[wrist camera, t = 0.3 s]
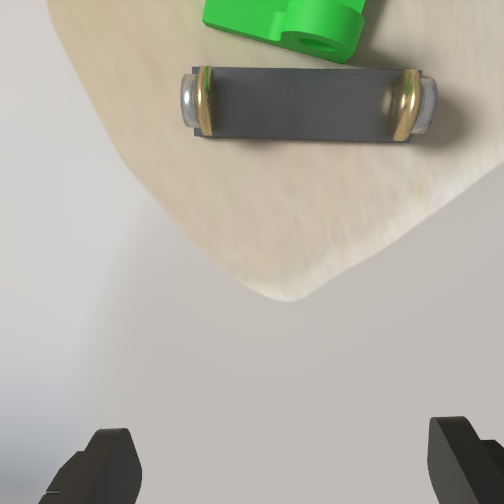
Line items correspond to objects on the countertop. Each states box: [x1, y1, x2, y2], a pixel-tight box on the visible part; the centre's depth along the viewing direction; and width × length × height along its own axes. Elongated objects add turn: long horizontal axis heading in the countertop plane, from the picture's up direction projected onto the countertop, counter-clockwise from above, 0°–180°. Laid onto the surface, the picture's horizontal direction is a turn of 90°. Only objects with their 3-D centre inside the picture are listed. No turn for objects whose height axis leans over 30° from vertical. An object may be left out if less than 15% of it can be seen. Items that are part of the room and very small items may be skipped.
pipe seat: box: [181, 66, 437, 142], centre depth 29 cm, size 6×19×6 cm, turn 88°
